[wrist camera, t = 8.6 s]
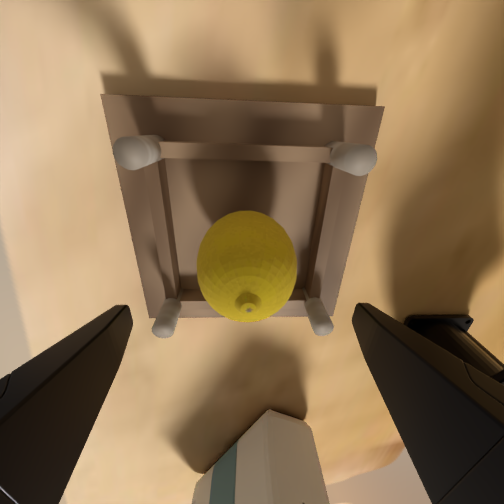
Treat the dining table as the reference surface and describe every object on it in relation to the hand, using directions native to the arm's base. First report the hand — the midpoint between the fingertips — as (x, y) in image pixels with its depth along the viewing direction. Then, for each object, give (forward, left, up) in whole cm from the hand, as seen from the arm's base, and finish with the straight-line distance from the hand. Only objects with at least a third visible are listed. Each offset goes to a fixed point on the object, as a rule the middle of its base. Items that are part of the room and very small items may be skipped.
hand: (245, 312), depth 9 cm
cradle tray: (0, 0, -10) cm, 10 cm away
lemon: (0, 0, -9) cm, 9 cm away
